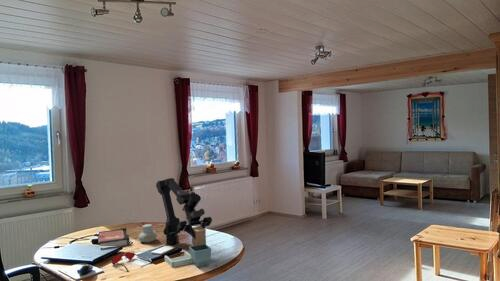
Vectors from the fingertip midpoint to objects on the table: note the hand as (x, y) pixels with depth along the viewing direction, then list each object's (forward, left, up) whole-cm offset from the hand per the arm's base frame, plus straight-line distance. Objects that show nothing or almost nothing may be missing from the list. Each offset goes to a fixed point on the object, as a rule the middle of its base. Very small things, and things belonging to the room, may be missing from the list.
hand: (199, 237), depth 201 cm
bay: (-9, -6, -11) cm, 16 cm away
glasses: (-32, -16, -12) cm, 37 cm away
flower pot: (+4, -9, -11) cm, 15 cm away
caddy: (-1, +1, -7) cm, 7 cm away
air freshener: (-46, +22, -11) cm, 52 cm away
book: (-68, +17, -12) cm, 71 cm away
